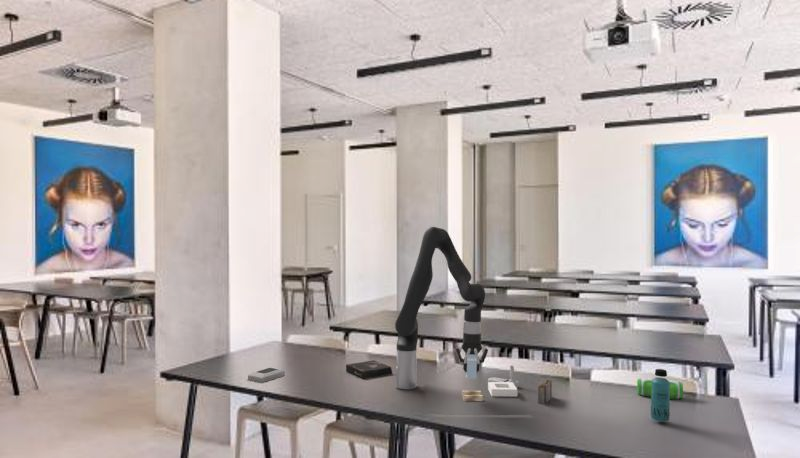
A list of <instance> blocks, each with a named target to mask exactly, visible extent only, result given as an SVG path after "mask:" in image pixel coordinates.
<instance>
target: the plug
mask: <svg viewBox="0 0 800 458" xmlns="http://www.w3.org/2000/svg"><path fill="white" fill-rule="evenodd" d="M477 374H478V373H477V355H475V354H469V355H468V354H467V372H465V378H466V379H472V380H473V379H474V380H476V379H477Z"/></svg>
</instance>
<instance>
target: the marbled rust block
mask: <svg viewBox="0 0 800 458" xmlns="http://www.w3.org/2000/svg"><path fill="white" fill-rule="evenodd" d="M552 385H553V383H552V380H549V379H545V380H544V381H542V382H541V383H539V384H538V387H537V403H538V404H539V405H545V404H546V403H547V402H548V401H550V400H551V398H552V397H553V395H552V393H553V390H552V389H553V386H552Z"/></svg>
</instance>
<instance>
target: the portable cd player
mask: <svg viewBox="0 0 800 458" xmlns="http://www.w3.org/2000/svg"><path fill="white" fill-rule="evenodd" d="M345 372H346V373H348V374H350V375H353V376H355V377H357V378H359V379H362V380H366V379H370V378H371V377H372V378H377V377H383V376H388V374H389V375H392V374H393V370H392V366H389V365H387V364H384V363H382V362H379V361H377V360H374V359H373V360H367V361H361V362H354V363H349V364H346V365H345ZM382 375H383V376H382Z"/></svg>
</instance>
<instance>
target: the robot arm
mask: <svg viewBox="0 0 800 458" xmlns="http://www.w3.org/2000/svg"><path fill="white" fill-rule="evenodd" d="M420 244H421V245H420V248H419V253H418V256H417V258H416V259H417V260H416V262H415V266H414V269H413V272H412V274H411V277H410V281H409V282H408V283H409V284H408V287H407V289H406V290H407V291H406V294H405V297H404V300H403V302H404V303H403V304H402V307H401V310H400V312H399V314H398V316H397V318H396V320H395V323H394V325H395V326H394V328H395V330H396V332H397V335H398V336H397V342H396V367H395V369H396V370H395V371H396V375H395V376H396V377H395V378H396V379H395V380H396V381H395V383H396V387H395V388H396V389H400V390H412V389H413V390H414V389H416V388H417V385H418V384H417V382H418V381H417V379H418V378H417V376H418V374H417V372H418V371H417V370H418V369H417V368H418V367H417V366H418V365H417V355H418V354H417V353H418V352H417V347H418V342H419V341H418V339H419V338H418V337H419V334H418V333H419V323H418V322H419V321H418V319H417V318H418V317H417V316H418V314H419V310H420V308H421V305H422V304H423V302H424V300H425V298H426V296H427V294H428V292H429V290H430V287H431V284H432V281H433V275H434V273H433V265H432V264H433V257H434V253H435V250H436V249H438V250H439V251H440V252H441V253H442V255H443V256H444V258H445V259H446V260H445V261H446V263H447V264H446V265H447V267H448V271H449V273H450V274H451V276H452V278H453V280H455V283H456V285H457V288H458V292H459V294H460V295H459V296H461V298H462V299H463V300H464V301H465V302H467V303H468V302H470V304H469V305H468V306H466V307H465V309H464V312H463V313H464V314H463V315H464V316H463V317H464V318H463V328H462V330H463V331H462V332H463V333H462V334H463V335H462V345H461V346H456V347H455V349H456V353H457V354H456V355H457V356H458V359H459V362H460V363H463V364H462V365H463V367H462V369H463V371H464V373H466V372H467V354H468V355H469V354H475V355H477V373H476V374H478V372H480V365H481V364H482V363H484V362H485V360H486V357H487V355H488V353H489V350H488V348H487V347H483V346H482V309H483V307H484V302H485V298H486V290H485V288H484V286H483V285H482V284H480V283H473V284H471V283H470V281H471V280H472V274H471V273H470V271H469V269H468V267H466V265H465V264H464V261H463V260H462V259H461V257H460V256H459V253H458V251H457V250H456V247H455V245H454V243H453V241H452V238H451V236H450V234H449V232H448V231H447V230H446V229H443V228H440V227H436V226H429V227H428V228H426V230H425V232H424V233H423V236H422V240H421V243H420ZM462 351H463V352H464V356H463V357H464V358H463V357H462V354H461V353H462ZM481 351H482V355H481V357H479V353H480V352H481Z"/></svg>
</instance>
